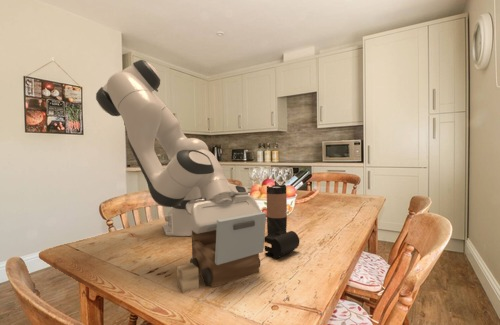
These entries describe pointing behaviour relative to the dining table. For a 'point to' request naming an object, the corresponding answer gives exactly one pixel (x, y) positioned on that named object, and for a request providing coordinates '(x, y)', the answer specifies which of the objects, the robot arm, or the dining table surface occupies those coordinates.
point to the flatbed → (224, 272)
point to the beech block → (187, 277)
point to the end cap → (281, 243)
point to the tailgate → (239, 237)
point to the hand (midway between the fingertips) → (237, 239)
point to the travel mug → (276, 209)
